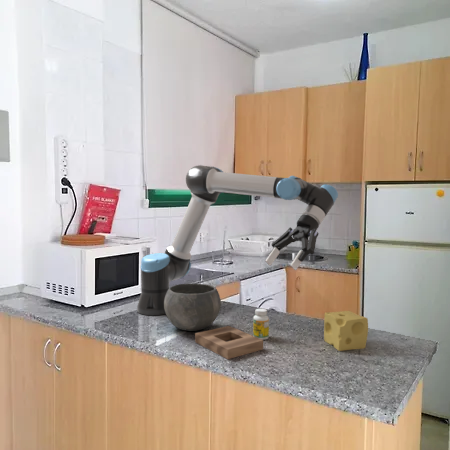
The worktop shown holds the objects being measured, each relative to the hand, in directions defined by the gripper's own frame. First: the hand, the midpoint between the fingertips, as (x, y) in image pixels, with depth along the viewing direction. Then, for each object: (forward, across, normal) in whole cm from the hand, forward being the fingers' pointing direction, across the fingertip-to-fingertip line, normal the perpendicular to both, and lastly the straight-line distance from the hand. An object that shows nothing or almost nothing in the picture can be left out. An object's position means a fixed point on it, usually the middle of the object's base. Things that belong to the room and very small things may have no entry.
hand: (280, 265), depth 148 cm
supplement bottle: (+23, +1, -11) cm, 26 cm away
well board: (+33, 0, -1) cm, 33 cm away
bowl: (+33, +22, +1) cm, 40 cm away
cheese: (+11, -19, -25) cm, 34 cm away
